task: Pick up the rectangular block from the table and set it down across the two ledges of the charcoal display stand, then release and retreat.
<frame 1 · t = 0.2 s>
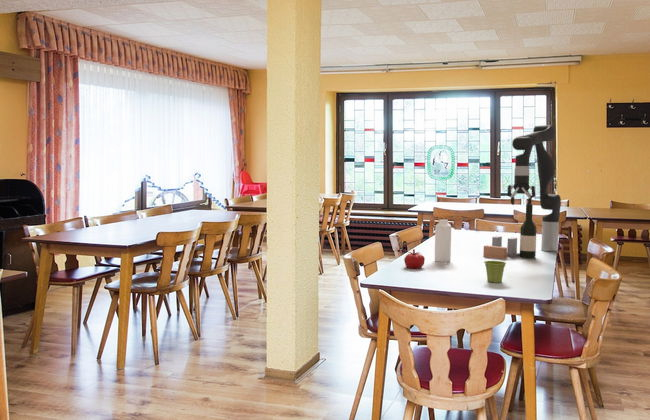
hand: (520, 205, 337), 30 cm above the table, tool pointing down, fingers open, 8 cm apart
wine bottle: (527, 258, 348), on the table
display stand: (504, 255, 355), on the table
red apple: (414, 268, 315), on the table
plant pot: (494, 282, 282), on the table
rectangular block: (494, 257, 348), on the table
milk: (442, 261, 335), on the table
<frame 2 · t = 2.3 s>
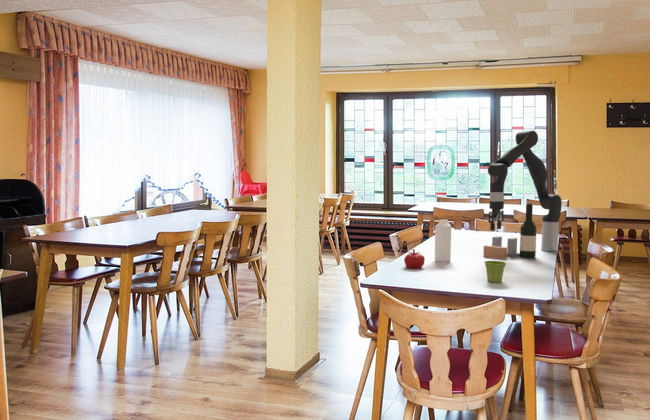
hand: (495, 229, 347), 15 cm above the table, tool pointing down, fingers open, 8 cm apart
nothing on the table moved.
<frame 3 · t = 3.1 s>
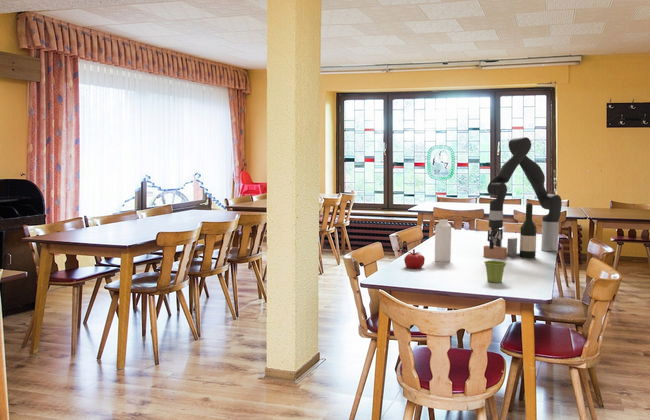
hand: (494, 248, 348), 5 cm above the table, tool pointing down, fingers open, 8 cm apart
nothing on the table moved.
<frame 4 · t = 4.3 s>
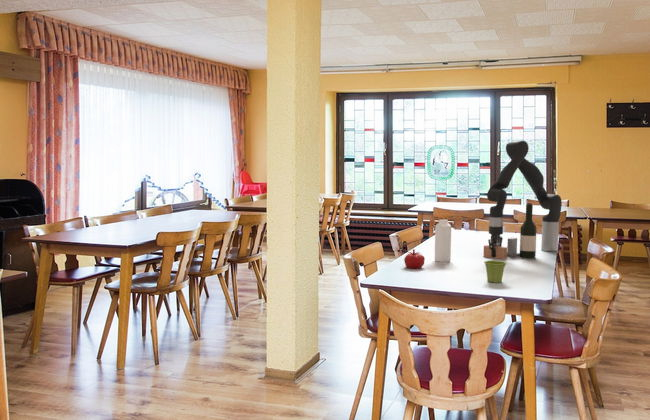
hand: (495, 256, 348), 0 cm above the table, tool pointing down, fingers closed on rectangular block, 3 cm apart
rectangular block: (495, 257, 348), on the table, touching gripper
everything else where it was.
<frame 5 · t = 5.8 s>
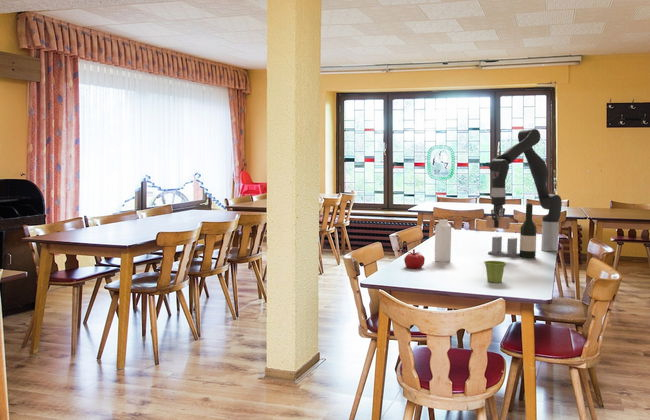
hand: (497, 227, 348), 17 cm above the table, tool pointing down, fingers closed on rectangular block, 3 cm apart
rectangular block: (497, 227, 348), point 16 cm above the table, touching gripper
everything else where it was.
when the fingers open (12 cm above the table, at t = 7.6 s): rectangular block drops 1 cm, resting on display stand.
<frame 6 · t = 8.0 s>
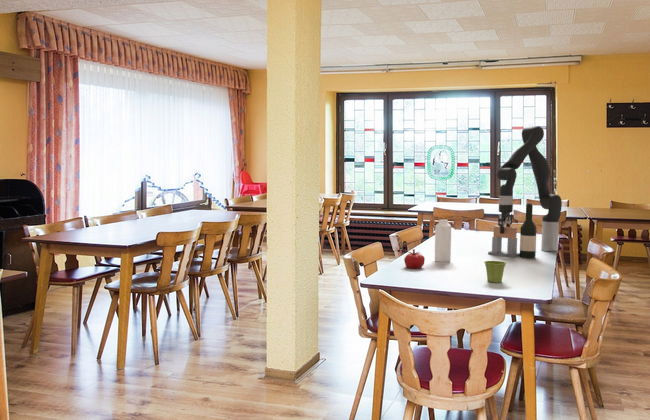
hand: (504, 232, 354), 13 cm above the table, tool pointing down, fingers open, 7 cm apart
rectangular block: (504, 237, 355), point 10 cm above the table, touching display stand
everything else where it was.
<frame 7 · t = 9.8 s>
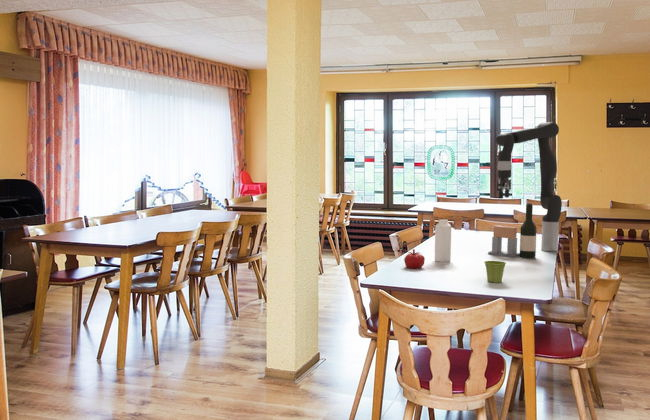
hand: (503, 197, 358), 32 cm above the table, tool pointing down, fingers open, 8 cm apart
nothing on the table moved.
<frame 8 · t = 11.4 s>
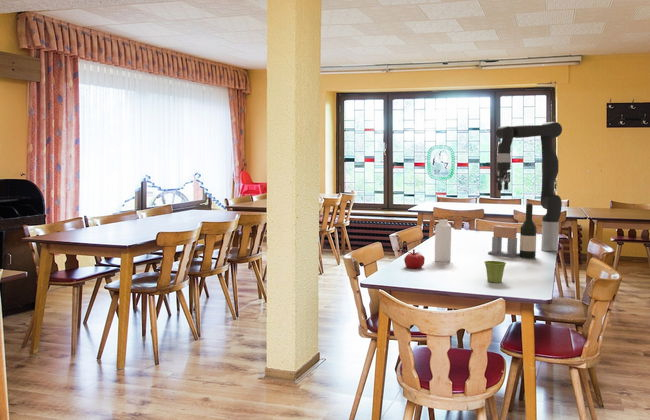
hand: (502, 190, 361), 36 cm above the table, tool pointing down, fingers open, 8 cm apart
nothing on the table moved.
at the end: rectangular block 0.2 cm off-centre on the display stand, point 10.0 cm above the display stand's base; rectangular block tilted 0°; the gripper is holding nothing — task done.
